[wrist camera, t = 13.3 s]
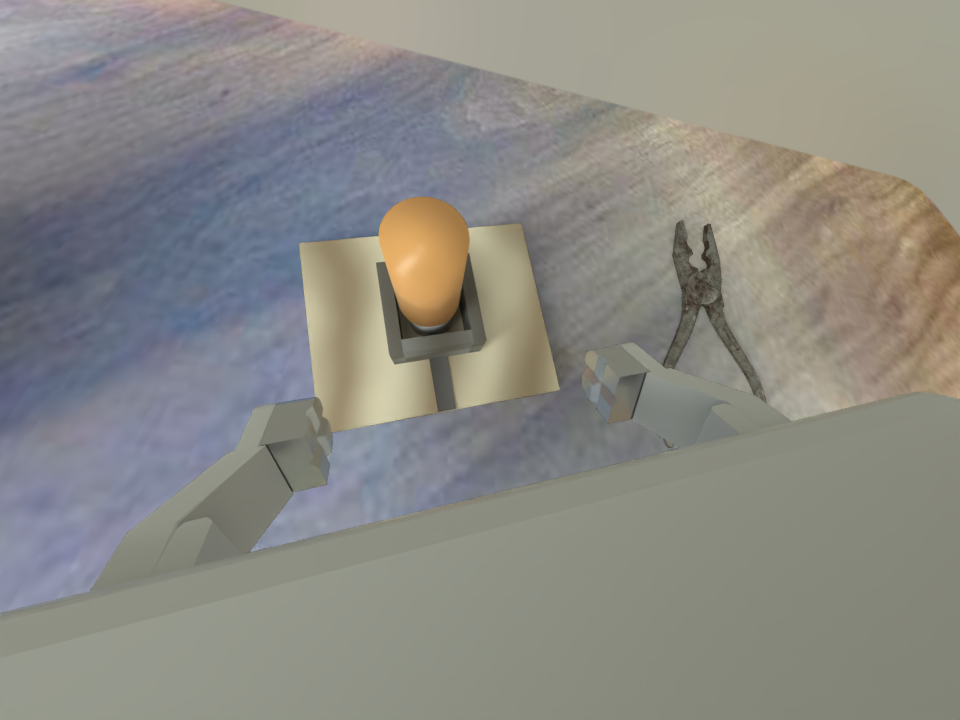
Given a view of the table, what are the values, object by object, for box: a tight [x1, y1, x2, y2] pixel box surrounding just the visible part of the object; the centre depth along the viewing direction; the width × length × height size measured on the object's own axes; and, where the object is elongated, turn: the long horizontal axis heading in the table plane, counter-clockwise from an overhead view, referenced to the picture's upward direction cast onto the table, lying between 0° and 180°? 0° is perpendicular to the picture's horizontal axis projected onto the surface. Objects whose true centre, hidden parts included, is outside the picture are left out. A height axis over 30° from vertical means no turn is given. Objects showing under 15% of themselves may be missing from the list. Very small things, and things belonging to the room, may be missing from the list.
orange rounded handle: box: [379, 197, 470, 336], centre depth 18 cm, size 4×4×10 cm
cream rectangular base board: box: [299, 223, 560, 433], centre depth 23 cm, size 16×13×4 cm
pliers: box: [663, 220, 766, 448], centre depth 28 cm, size 10×1×20 cm
